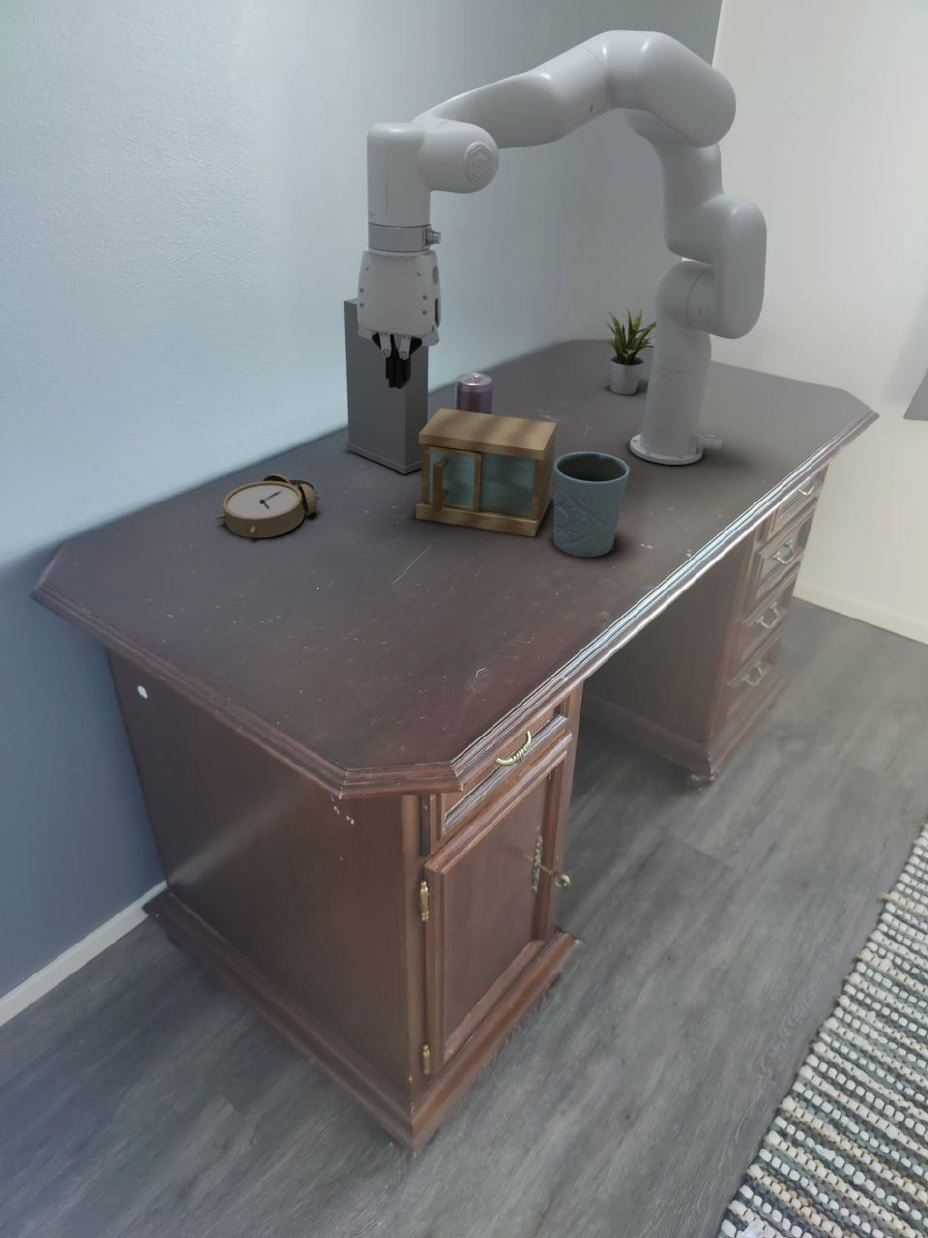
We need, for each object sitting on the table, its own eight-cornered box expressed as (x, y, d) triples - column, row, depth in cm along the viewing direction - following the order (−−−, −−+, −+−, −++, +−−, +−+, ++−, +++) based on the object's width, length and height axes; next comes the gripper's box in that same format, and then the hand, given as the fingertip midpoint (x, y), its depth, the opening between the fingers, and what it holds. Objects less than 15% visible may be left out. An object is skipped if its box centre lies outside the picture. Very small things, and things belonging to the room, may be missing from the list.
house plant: (666, 405, 177) (680, 322, 168) (596, 403, 177) (606, 319, 168) (654, 382, 189) (666, 302, 180) (589, 379, 189) (598, 300, 180)
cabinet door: (479, 511, 132) (482, 451, 126) (470, 527, 127) (473, 466, 122) (424, 503, 133) (425, 443, 128) (414, 518, 129) (414, 457, 124)
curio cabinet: (549, 502, 139) (557, 422, 132) (534, 536, 129) (542, 452, 122) (438, 486, 143) (439, 407, 135) (416, 518, 133) (416, 435, 126)
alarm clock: (204, 504, 128) (279, 456, 136) (213, 532, 131) (286, 483, 139) (258, 528, 122) (333, 476, 131) (266, 557, 125) (338, 504, 134)
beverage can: (493, 464, 151) (498, 376, 142) (479, 477, 146) (483, 387, 138) (461, 457, 153) (465, 370, 144) (446, 469, 148) (449, 380, 140)
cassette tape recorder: (430, 465, 149) (433, 311, 136) (404, 475, 145) (405, 319, 132) (374, 441, 157) (371, 294, 143) (347, 451, 153) (342, 300, 139)
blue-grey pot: (619, 531, 132) (631, 455, 125) (615, 565, 123) (627, 485, 117) (551, 523, 133) (559, 447, 127) (542, 555, 125) (550, 476, 118)
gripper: (465, 238, 111) (459, 383, 121) (352, 227, 114) (355, 370, 124) (449, 249, 105) (444, 401, 115) (330, 237, 107) (335, 386, 117)
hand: (398, 385), depth 119 cm, fingers closed
